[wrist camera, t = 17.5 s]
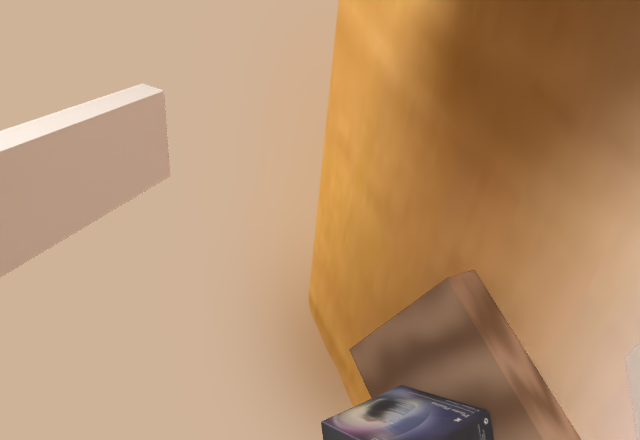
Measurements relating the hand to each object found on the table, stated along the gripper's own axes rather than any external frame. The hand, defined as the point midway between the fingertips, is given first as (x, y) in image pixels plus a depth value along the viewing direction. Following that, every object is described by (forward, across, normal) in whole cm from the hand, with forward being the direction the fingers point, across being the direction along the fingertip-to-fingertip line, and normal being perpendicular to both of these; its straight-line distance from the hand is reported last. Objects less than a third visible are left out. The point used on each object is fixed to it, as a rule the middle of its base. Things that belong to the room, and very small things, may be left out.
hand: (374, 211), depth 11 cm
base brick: (+21, +10, -32) cm, 40 cm away
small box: (+18, +8, -32) cm, 37 cm away
